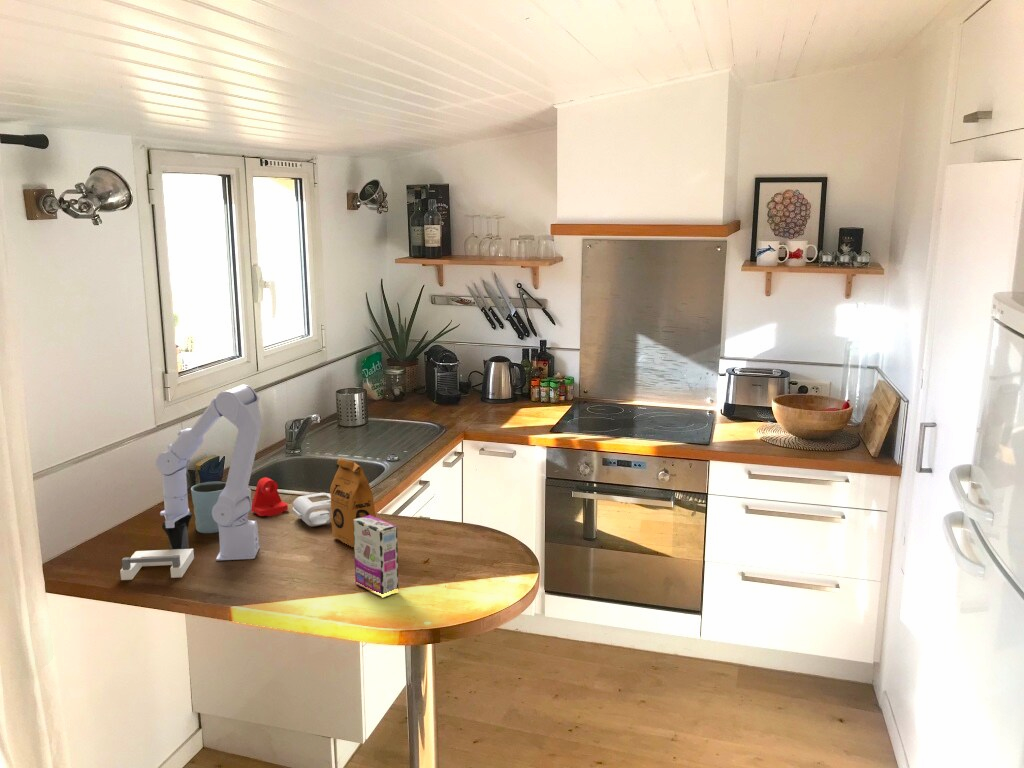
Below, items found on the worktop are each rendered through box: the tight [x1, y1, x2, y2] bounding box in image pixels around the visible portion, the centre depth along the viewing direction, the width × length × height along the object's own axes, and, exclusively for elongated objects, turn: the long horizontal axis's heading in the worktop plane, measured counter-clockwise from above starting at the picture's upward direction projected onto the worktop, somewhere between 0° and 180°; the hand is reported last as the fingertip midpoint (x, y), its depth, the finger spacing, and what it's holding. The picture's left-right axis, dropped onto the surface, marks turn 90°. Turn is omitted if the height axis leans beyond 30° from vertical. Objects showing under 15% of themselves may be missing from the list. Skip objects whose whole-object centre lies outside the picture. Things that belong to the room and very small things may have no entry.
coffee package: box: [329, 458, 377, 548], centre depth 226 cm, size 10×12×22 cm
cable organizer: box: [291, 492, 331, 527], centre depth 242 cm, size 7×12×12 cm
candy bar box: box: [353, 515, 399, 594], centre depth 197 cm, size 11×5×16 cm, turn 45°
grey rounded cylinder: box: [169, 526, 190, 550], centre depth 221 cm, size 4×4×6 cm
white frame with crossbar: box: [119, 548, 195, 581], centre depth 209 cm, size 14×12×5 cm
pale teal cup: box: [190, 481, 226, 534], centre depth 237 cm, size 10×10×12 cm
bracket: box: [251, 477, 289, 518], centre depth 249 cm, size 9×6×10 cm
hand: (179, 544), depth 221 cm, fingers closed on grey rounded cylinder, 4 cm apart
